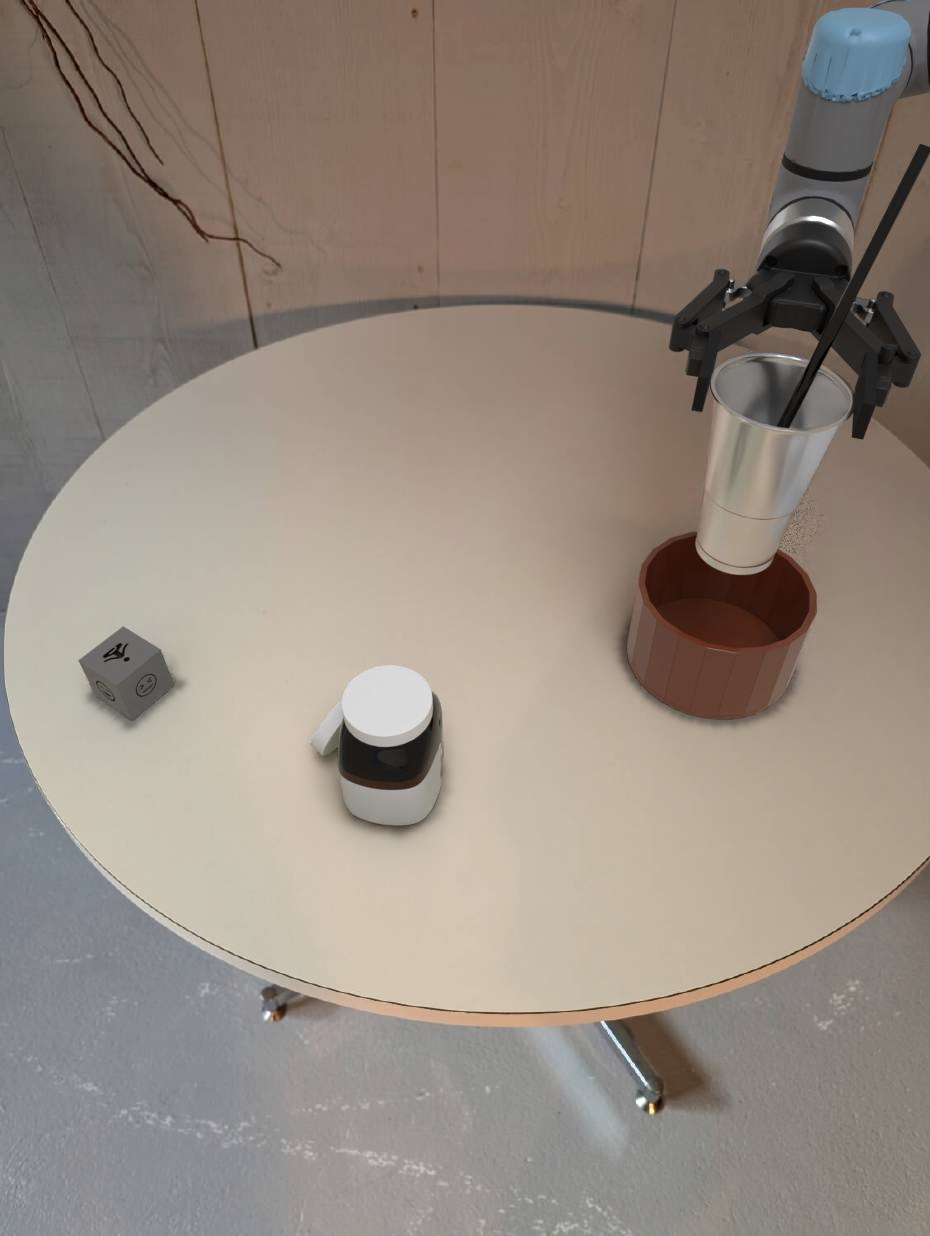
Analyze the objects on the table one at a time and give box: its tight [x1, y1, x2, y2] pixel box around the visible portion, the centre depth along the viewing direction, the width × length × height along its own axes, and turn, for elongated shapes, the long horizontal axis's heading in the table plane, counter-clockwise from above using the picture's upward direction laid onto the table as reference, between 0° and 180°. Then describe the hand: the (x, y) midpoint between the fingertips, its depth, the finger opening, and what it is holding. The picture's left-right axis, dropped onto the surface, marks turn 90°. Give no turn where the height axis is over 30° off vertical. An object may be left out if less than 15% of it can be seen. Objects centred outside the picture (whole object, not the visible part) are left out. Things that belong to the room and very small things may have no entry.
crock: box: [626, 530, 818, 720], centre depth 83 cm, size 15×15×9 cm
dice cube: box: [78, 625, 175, 722], centre depth 82 cm, size 5×5×5 cm
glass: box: [695, 143, 930, 575], centre depth 65 cm, size 11×11×30 cm
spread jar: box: [310, 664, 445, 827], centre depth 73 cm, size 12×11×12 cm
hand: (780, 407), depth 61 cm, fingers closed on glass, 10 cm apart
